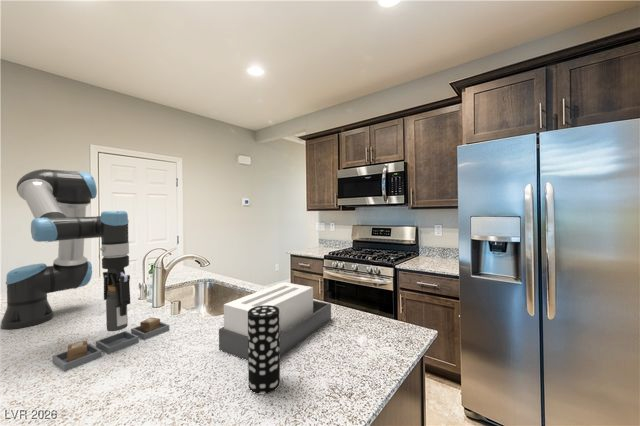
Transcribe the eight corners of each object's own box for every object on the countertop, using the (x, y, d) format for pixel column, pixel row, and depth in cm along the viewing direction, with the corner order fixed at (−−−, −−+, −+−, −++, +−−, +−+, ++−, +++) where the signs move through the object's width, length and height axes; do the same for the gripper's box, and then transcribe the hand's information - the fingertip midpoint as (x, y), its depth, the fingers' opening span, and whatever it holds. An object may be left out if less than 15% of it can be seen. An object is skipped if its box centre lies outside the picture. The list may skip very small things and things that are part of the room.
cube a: (140, 334, 105) (140, 321, 105) (150, 328, 109) (150, 317, 109) (150, 335, 103) (149, 323, 103) (160, 330, 108) (159, 318, 108)
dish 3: (131, 335, 105) (130, 328, 105) (156, 326, 113) (155, 320, 113) (144, 341, 100) (144, 334, 100) (169, 331, 108) (169, 325, 108)
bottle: (116, 332, 93) (115, 287, 93) (102, 330, 94) (101, 286, 94) (131, 325, 99) (130, 282, 99) (117, 323, 100) (116, 282, 100)
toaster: (259, 363, 86) (258, 313, 86) (224, 349, 94) (223, 304, 94) (318, 322, 116) (318, 285, 116) (288, 314, 124) (287, 280, 124)
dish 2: (95, 348, 95) (95, 341, 95) (125, 337, 103) (125, 330, 103) (108, 355, 91) (108, 348, 90) (139, 343, 98) (138, 336, 98)
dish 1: (52, 364, 86) (52, 356, 86) (89, 350, 94) (89, 343, 94) (64, 373, 81) (64, 364, 81) (102, 358, 89) (101, 350, 89)
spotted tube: (251, 375, 80) (250, 305, 79) (280, 374, 80) (280, 304, 80) (246, 395, 71) (245, 317, 71) (279, 393, 72) (278, 316, 71)
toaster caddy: (219, 349, 94) (218, 329, 94) (290, 311, 128) (290, 295, 128) (266, 368, 83) (266, 344, 83) (331, 320, 118) (330, 303, 117)
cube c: (68, 359, 88) (68, 344, 88) (87, 354, 91) (86, 340, 90) (67, 365, 84) (67, 350, 84) (87, 360, 87) (86, 345, 87)
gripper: (90, 255, 98) (92, 321, 98) (116, 260, 88) (118, 333, 89) (114, 252, 104) (116, 313, 105) (141, 256, 94) (143, 324, 95)
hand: (117, 322), depth 97 cm, fingers closed on bottle, 6 cm apart
